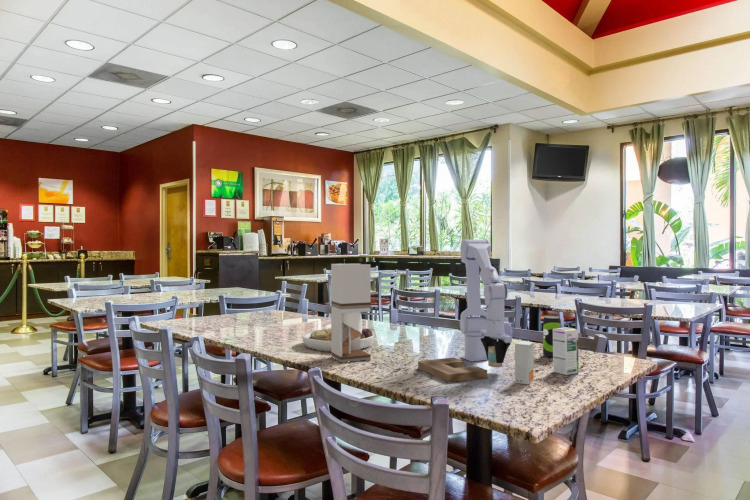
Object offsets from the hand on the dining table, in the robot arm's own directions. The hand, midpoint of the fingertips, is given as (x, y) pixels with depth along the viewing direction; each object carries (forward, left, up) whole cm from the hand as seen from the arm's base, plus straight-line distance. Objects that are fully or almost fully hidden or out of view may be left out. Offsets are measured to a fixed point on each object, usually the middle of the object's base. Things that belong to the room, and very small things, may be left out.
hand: (495, 361), depth 167 cm
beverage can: (-35, -13, -4) cm, 38 cm away
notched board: (+13, -6, -4) cm, 15 cm away
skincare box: (-2, +12, -4) cm, 13 cm away
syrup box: (-22, +8, -4) cm, 24 cm away
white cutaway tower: (+36, -39, -4) cm, 53 cm away
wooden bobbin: (0, 0, -2) cm, 2 cm away
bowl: (+32, -65, -5) cm, 73 cm away
